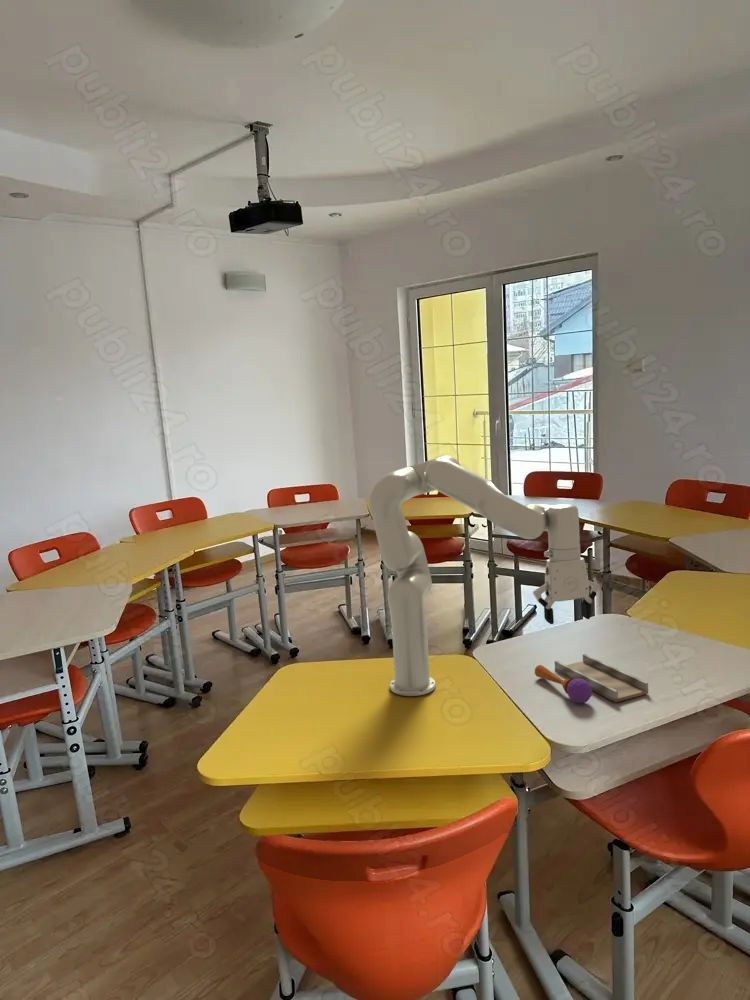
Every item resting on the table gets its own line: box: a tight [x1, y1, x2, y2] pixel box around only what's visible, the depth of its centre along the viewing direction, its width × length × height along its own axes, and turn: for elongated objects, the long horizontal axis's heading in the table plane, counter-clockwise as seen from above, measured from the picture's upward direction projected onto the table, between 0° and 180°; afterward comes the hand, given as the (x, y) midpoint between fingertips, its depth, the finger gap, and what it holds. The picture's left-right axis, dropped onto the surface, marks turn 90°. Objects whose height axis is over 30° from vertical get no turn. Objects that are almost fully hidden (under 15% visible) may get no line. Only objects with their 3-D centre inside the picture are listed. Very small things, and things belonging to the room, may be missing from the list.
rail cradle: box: [554, 653, 649, 703], centre depth 179 cm, size 24×11×3 cm, turn 22°
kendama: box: [534, 664, 593, 704], centre depth 174 cm, size 6×6×20 cm
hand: (567, 620), depth 169 cm, fingers open, 9 cm apart
